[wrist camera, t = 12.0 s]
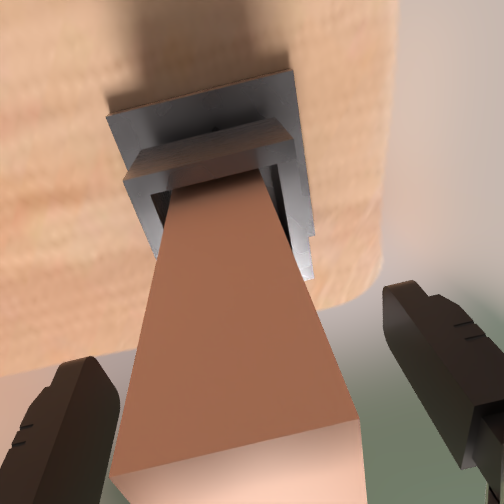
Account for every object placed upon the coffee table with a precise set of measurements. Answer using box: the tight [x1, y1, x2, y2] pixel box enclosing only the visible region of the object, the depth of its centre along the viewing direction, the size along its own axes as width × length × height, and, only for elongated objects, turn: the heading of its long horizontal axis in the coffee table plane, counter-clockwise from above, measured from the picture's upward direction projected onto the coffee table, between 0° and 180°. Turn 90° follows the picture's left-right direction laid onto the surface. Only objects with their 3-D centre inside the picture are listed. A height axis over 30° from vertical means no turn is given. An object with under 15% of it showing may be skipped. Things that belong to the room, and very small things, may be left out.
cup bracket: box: [106, 69, 315, 281], centre depth 18 cm, size 10×10×10 cm
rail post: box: [109, 168, 367, 504], centre depth 13 cm, size 4×4×14 cm
